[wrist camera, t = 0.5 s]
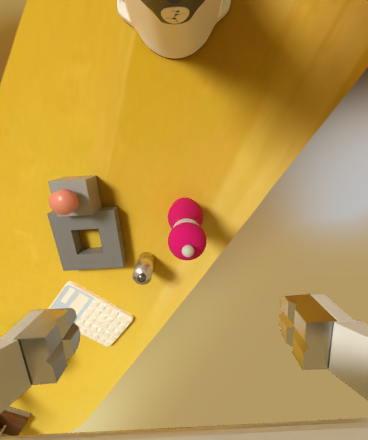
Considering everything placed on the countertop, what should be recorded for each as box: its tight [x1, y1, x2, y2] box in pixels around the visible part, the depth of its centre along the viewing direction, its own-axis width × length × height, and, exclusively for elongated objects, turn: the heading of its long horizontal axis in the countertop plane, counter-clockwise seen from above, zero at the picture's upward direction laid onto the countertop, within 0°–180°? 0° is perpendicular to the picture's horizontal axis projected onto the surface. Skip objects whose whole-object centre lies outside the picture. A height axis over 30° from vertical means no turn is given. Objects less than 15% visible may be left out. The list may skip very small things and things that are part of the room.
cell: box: [133, 252, 155, 285], centre depth 48 cm, size 4×4×8 cm
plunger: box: [49, 189, 79, 215], centre depth 39 cm, size 4×4×2 cm
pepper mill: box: [168, 198, 206, 260], centre depth 39 cm, size 7×7×20 cm
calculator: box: [49, 281, 134, 346], centre depth 57 cm, size 13×20×2 cm, turn 52°
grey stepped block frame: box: [48, 175, 127, 271], centre depth 46 cm, size 21×14×6 cm, turn 3°
